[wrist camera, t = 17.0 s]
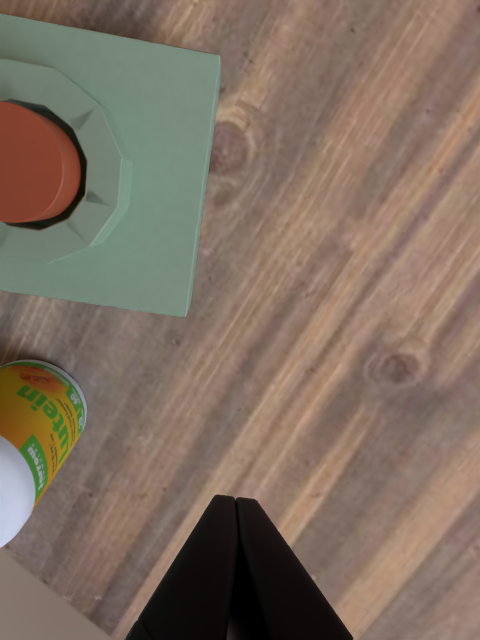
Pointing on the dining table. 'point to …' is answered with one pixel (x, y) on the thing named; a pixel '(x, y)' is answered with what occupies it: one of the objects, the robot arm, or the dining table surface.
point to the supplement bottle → (34, 435)
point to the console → (113, 165)
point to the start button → (35, 166)
